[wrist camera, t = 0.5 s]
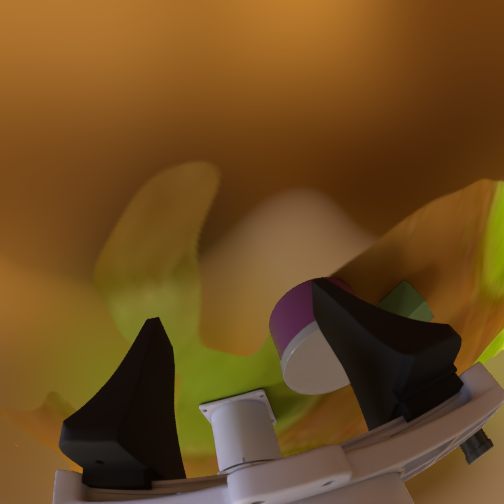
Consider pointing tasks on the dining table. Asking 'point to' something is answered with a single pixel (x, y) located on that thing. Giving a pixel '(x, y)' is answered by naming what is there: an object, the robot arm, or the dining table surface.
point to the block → (407, 303)
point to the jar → (305, 343)
